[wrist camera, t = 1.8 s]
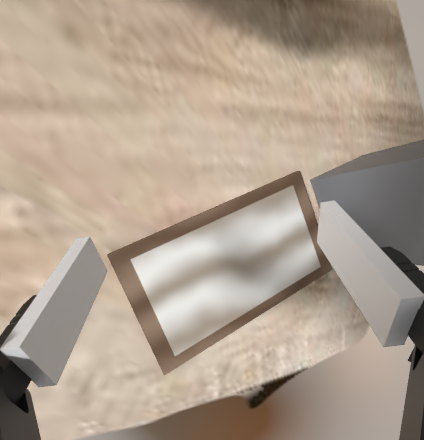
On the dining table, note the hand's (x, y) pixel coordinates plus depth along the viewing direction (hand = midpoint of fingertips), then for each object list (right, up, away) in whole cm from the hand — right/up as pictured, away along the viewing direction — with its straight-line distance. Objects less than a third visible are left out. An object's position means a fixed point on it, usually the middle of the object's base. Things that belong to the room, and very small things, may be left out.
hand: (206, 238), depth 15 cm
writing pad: (+4, -5, +20) cm, 20 cm away
